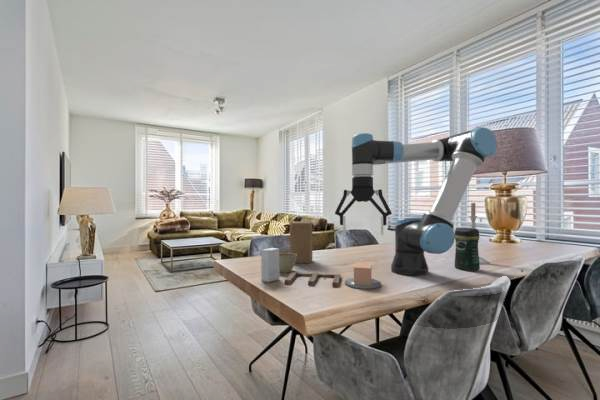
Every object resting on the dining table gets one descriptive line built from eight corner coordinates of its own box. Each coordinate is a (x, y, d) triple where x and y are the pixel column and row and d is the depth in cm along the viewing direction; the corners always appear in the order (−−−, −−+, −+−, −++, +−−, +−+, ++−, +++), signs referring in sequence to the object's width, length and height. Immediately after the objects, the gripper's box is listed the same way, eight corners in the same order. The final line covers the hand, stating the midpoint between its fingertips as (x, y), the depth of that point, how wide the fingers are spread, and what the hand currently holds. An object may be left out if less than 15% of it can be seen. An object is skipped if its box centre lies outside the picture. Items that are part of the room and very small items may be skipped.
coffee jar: (483, 270, 133) (483, 228, 133) (470, 272, 129) (470, 228, 130) (463, 266, 142) (463, 226, 142) (451, 267, 138) (451, 227, 138)
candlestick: (494, 264, 146) (493, 202, 146) (467, 264, 146) (467, 202, 146) (478, 259, 159) (478, 202, 159) (454, 259, 159) (454, 202, 159)
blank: (371, 278, 116) (371, 262, 116) (371, 285, 107) (371, 268, 107) (355, 277, 118) (355, 261, 118) (353, 284, 108) (353, 267, 108)
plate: (379, 280, 116) (379, 278, 116) (382, 290, 104) (382, 287, 104) (345, 278, 119) (345, 276, 119) (343, 288, 106) (343, 285, 106)
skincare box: (271, 277, 121) (271, 247, 121) (280, 279, 118) (280, 248, 118) (260, 280, 116) (260, 249, 116) (268, 282, 113) (268, 250, 113)
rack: (340, 277, 121) (340, 273, 121) (338, 287, 107) (338, 282, 107) (292, 275, 125) (292, 271, 125) (284, 284, 111) (284, 280, 111)
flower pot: (269, 272, 130) (269, 255, 130) (280, 267, 139) (280, 252, 139) (291, 274, 126) (291, 257, 126) (300, 269, 135) (300, 253, 135)
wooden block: (309, 264, 146) (309, 222, 147) (289, 263, 148) (289, 222, 149) (312, 260, 156) (312, 221, 156) (293, 259, 158) (293, 221, 158)
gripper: (396, 176, 113) (397, 233, 112) (329, 178, 117) (330, 232, 117) (399, 174, 105) (399, 235, 105) (327, 176, 110) (328, 234, 110)
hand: (362, 234), depth 111 cm, fingers open, 13 cm apart
